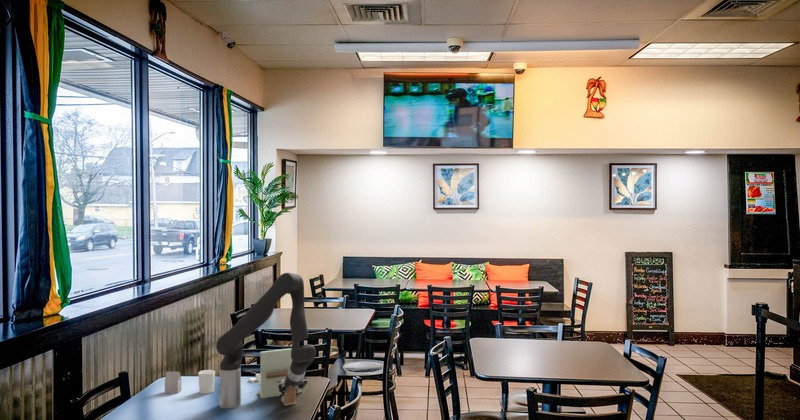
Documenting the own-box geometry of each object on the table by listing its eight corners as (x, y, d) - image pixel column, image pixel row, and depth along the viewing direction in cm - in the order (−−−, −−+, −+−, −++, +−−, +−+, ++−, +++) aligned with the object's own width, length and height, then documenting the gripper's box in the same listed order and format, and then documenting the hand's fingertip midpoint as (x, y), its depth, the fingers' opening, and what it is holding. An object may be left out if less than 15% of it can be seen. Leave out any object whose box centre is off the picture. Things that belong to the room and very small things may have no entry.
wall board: (303, 393, 275) (303, 349, 276) (262, 400, 266) (262, 353, 267) (297, 388, 285) (297, 344, 285) (257, 393, 276) (257, 349, 276)
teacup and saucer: (246, 382, 296) (246, 374, 296) (257, 378, 303) (257, 371, 303) (259, 384, 292) (259, 377, 292) (269, 380, 299) (269, 373, 299)
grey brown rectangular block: (178, 393, 278) (178, 373, 278) (164, 393, 278) (164, 372, 278) (181, 390, 282) (181, 370, 282) (168, 390, 282) (168, 370, 282)
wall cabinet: (296, 404, 260) (296, 383, 260) (286, 406, 257) (285, 384, 258) (291, 399, 268) (291, 378, 268) (281, 400, 265) (280, 379, 266)
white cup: (217, 389, 283) (217, 369, 283) (210, 394, 275) (210, 374, 275) (202, 389, 284) (202, 369, 284) (195, 394, 276) (195, 373, 276)
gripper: (309, 364, 257) (301, 383, 268) (278, 368, 251) (272, 387, 262) (313, 379, 253) (305, 398, 263) (281, 383, 246) (274, 402, 257)
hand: (288, 392), depth 262 cm, fingers closed on wall cabinet, 5 cm apart
